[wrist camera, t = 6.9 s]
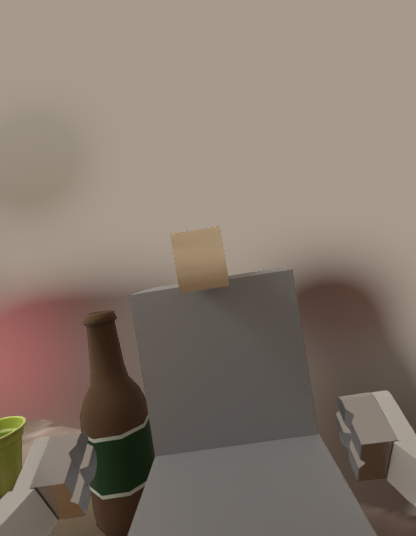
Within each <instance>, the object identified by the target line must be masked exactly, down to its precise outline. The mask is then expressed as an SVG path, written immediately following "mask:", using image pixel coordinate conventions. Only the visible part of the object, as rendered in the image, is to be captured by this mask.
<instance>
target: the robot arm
mask: <svg viewBox="0 0 416 536" xmlns="http://www.w3.org/2000/svg"><path fill="white" fill-rule="evenodd" d="M337 407H338V409H339V411H338V413H336V423H337V429H338V433H339V436H340V439H341V441H342V444H343V445H344V446H345V447H346V448H347V449H349V462H350V464H351V466H352V469H353V471H354V474H355V476H356V479H357V481H365V480H374V479H386V478H387V481H388V482H389V483H390V484H391V485H392V486H394V488H396V489H397V490H398V491H399V492H400V493H401V494H402V495H403V496H404V497H405V498H406V499H407V500H408V501H409V502H410V503H411V504H412V505H414V506H415V507H416V434H415V432H414V431H413V429H412V428H411V426H410V425H409V423H408V421H407V419H406V418H405V416H404V415H403V413H402V412H401V410H400V408H399V407H398V405H397V403H396V402H395V400H394V398H393V397H392V395H391V393H389V392H388V391H385V390H384V391H378V392H372V393H369V392H368V393H362V394H355V395H348V396H342V397H338V398H337ZM88 439H89V438H88V436H87V435H86V433H85V432H81V433H73V434H64V435H56V436H47V437H39V438H37V439H36V440H35V441H34V442H33V444H32V446H31V449H30V451H29V454H28V456H27V458H26V461H25V463H24V465H23V468H22V470H21V472H20V475H19V477H18V479H17V482H16V484H15V486H14V489H13V491H10V492H7V493H6V494H5V495H4V496H3V497H2V498H1V499H0V536H49V535H50V534H51V532H52V531H53V529H54V528H55V526H56V525H57V524H58V522H59V520H60V519H66V518H72V517H79V516H85V515H86V511H87V507H88V503H89V499H90V495H91V491H90V489H89V486H88V485H89V484H90V482H91V481H92V480H93V479H94V478H95V473H96V469H97V456H96V451H95V449H94V447H93V446H91V445H89V444H87V443H88Z"/></svg>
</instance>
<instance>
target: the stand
mask: <svg viewBox="0 0 416 536" xmlns="http://www.w3.org/2000/svg"><path fill="white" fill-rule="evenodd" d="M228 280H229V286H225V287H219V288H212V289H206V290H200V291H193V292H187V293H181V294H180V291H179V285H178V284H175V285H169V286H162V287H156V288H151V289H147V290H144V291H141V292H138V293H135V294H131V295H129V296H130V302H131V308H132V314H133V320H134V327H135V333H136V339H137V345H138V352H139V358H140V365H141V371H142V377H143V383H144V390H145V396H146V402H147V408H148V415H149V421H150V427H151V433H152V440H153V446H154V452H155V459H154V462H153V464H152V467H151V470H150V473H149V476H148V479H147V481H146V484H145V487H144V490H143V493H142V496H141V499H140V501H139V504H138V507H137V510H136V513H135V516H134V518H133V521H132V524H131V527H130V530H129V533H128V536H377V534H376V532H375V531H374V529H373V527H372V526H371V524H370V522H369V520H368V519H367V517H366V515H365V513H364V512H363V510H362V508H361V506H360V505H359V503H358V501H357V499H356V498H355V496H354V494H353V493H352V491H351V489H350V487H349V486H348V484H347V482H346V480H345V479H344V477H343V475H342V474H341V472H340V470H339V468H338V467H337V465H336V463H335V461H334V460H333V458H332V456H331V455H330V453H329V451H328V449H327V448H326V446H325V444H324V442H323V440H322V439H321V437H320V435H319V432H318V426H317V419H316V414H315V407H314V401H313V395H312V388H311V383H310V376H309V369H308V363H307V357H306V351H305V345H304V338H303V332H302V326H301V320H300V313H299V307H298V301H297V295H296V288H295V282H294V276H293V270H292V269H270V270H263V271H258V272H251V273H245V274H238V275H232V276H228Z"/></svg>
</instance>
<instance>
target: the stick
mask: <svg viewBox="0 0 416 536" xmlns="http://www.w3.org/2000/svg"><path fill="white" fill-rule="evenodd" d="M171 241H172V248H173V254H174V260H175V266H176V272H177V279H178V285H179V291H180V294H181V293H187V292H193V291H200V290H206V289H212V288H219V287H225V286H229V280H228V273H227V267H226V261H225V255H224V249H223V242H222V236H221V230H220V226H217V227H211V228H205V229H199V230H193V231H186V232H181V233H175V234H171Z"/></svg>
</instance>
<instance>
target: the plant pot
mask: <svg viewBox="0 0 416 536" xmlns="http://www.w3.org/2000/svg"><path fill="white" fill-rule="evenodd" d="M25 424H26V419H25V418H24V417H22V416H12V417H5V418H0V497H2V496H4V495H5V494H6V493H7V492H10V491H12V490H13V489H14V486H15V484H16V482H17V479H18V477H19V475H20V472H21V470H22V435H23V431H24V425H25Z"/></svg>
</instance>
